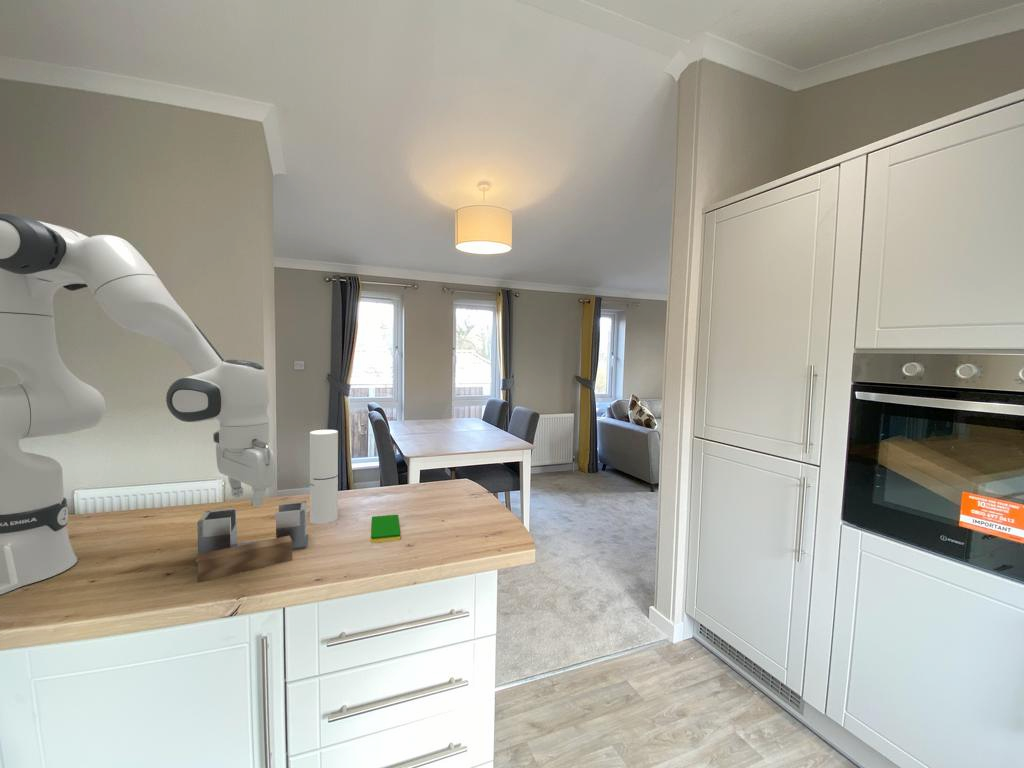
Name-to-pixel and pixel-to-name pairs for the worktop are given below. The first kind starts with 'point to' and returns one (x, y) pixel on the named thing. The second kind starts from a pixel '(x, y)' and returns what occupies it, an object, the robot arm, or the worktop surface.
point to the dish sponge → (385, 528)
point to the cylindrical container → (323, 476)
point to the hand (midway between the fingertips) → (246, 500)
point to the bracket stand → (222, 533)
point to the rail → (243, 558)
